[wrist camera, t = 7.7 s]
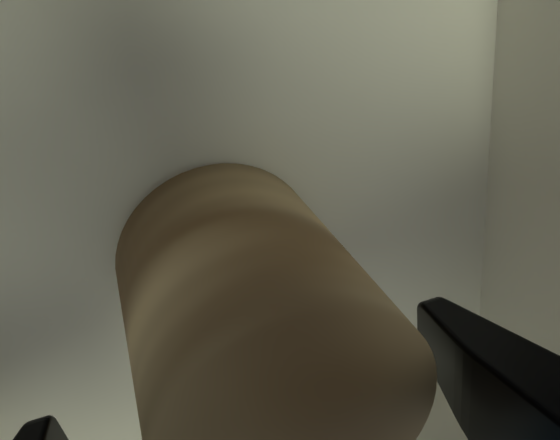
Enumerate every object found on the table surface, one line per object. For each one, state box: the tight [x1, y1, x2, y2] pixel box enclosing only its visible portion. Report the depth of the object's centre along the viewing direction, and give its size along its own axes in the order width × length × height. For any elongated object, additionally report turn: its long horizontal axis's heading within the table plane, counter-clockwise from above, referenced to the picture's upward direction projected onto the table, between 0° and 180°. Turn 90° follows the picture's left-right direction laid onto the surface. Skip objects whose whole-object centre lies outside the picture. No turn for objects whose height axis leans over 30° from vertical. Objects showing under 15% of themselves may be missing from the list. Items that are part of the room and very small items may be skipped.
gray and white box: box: [0, 0, 560, 440], centre depth 11 cm, size 15×15×4 cm
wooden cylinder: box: [115, 163, 437, 440], centre depth 10 cm, size 4×4×5 cm
